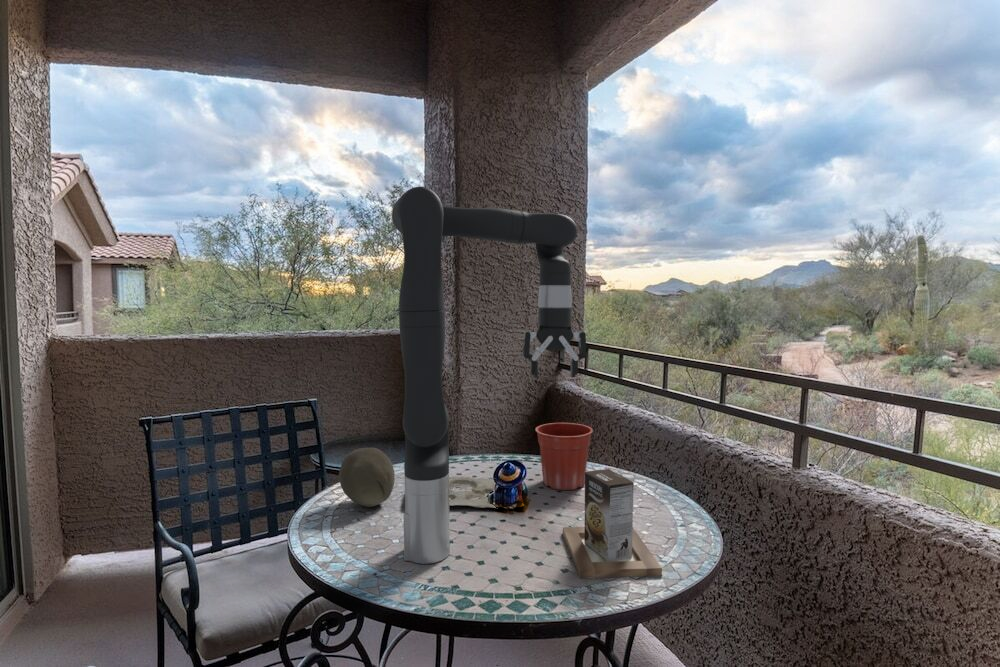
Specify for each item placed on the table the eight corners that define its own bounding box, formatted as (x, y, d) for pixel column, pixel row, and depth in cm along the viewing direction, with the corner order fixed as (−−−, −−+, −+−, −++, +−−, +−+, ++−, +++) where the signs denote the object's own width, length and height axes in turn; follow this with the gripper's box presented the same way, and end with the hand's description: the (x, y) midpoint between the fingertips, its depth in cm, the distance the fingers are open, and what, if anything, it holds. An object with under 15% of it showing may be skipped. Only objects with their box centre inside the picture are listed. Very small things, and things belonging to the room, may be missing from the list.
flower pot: (523, 481, 152) (523, 427, 151) (563, 470, 162) (564, 419, 161) (563, 498, 139) (563, 439, 138) (604, 485, 149) (604, 430, 148)
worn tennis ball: (397, 493, 143) (396, 440, 142) (392, 514, 129) (391, 455, 128) (344, 496, 141) (343, 442, 140) (334, 517, 127) (332, 458, 126)
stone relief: (525, 513, 131) (521, 483, 151) (525, 502, 131) (521, 473, 151) (397, 514, 131) (411, 484, 151) (397, 503, 131) (410, 474, 150)
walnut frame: (579, 578, 99) (580, 570, 99) (562, 533, 118) (562, 527, 118) (661, 575, 100) (661, 568, 100) (631, 531, 119) (631, 525, 119)
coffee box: (582, 544, 112) (583, 471, 111) (607, 539, 114) (608, 467, 113) (607, 564, 103) (608, 485, 102) (633, 557, 106) (634, 480, 105)
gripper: (525, 306, 113) (524, 379, 114) (589, 306, 113) (588, 379, 114) (522, 305, 120) (521, 374, 121) (582, 305, 121) (581, 374, 122)
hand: (554, 377), depth 118 cm, fingers open, 8 cm apart
